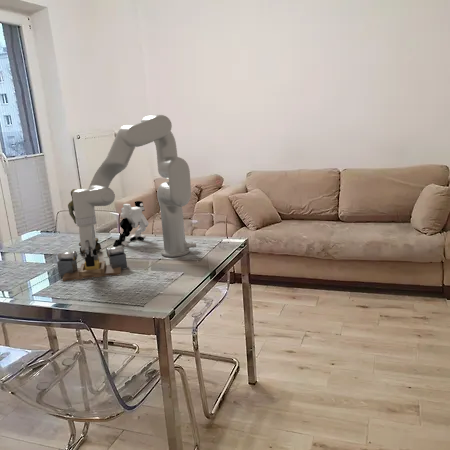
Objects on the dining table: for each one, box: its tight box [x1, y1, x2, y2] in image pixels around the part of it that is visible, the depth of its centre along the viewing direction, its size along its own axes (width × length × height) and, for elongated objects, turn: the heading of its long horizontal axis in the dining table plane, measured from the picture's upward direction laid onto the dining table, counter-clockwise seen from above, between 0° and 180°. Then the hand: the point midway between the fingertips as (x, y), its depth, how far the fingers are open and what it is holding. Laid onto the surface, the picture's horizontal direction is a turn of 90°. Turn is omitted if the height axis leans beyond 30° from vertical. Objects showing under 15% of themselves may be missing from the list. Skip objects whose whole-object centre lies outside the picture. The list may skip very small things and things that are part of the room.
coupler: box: [84, 254, 100, 270], centre depth 188 cm, size 5×5×6 cm
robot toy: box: [112, 200, 150, 248], centre depth 227 cm, size 19×14×20 cm
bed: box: [62, 260, 122, 282], centre depth 188 cm, size 22×11×3 cm, turn 100°
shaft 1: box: [56, 250, 79, 277], centre depth 189 cm, size 7×4×9 cm, turn 85°
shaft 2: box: [105, 245, 128, 270], centre depth 191 cm, size 7×4×9 cm, turn 115°
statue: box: [67, 188, 102, 255], centre depth 213 cm, size 11×11×30 cm
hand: (91, 262), depth 188 cm, fingers open, 9 cm apart
